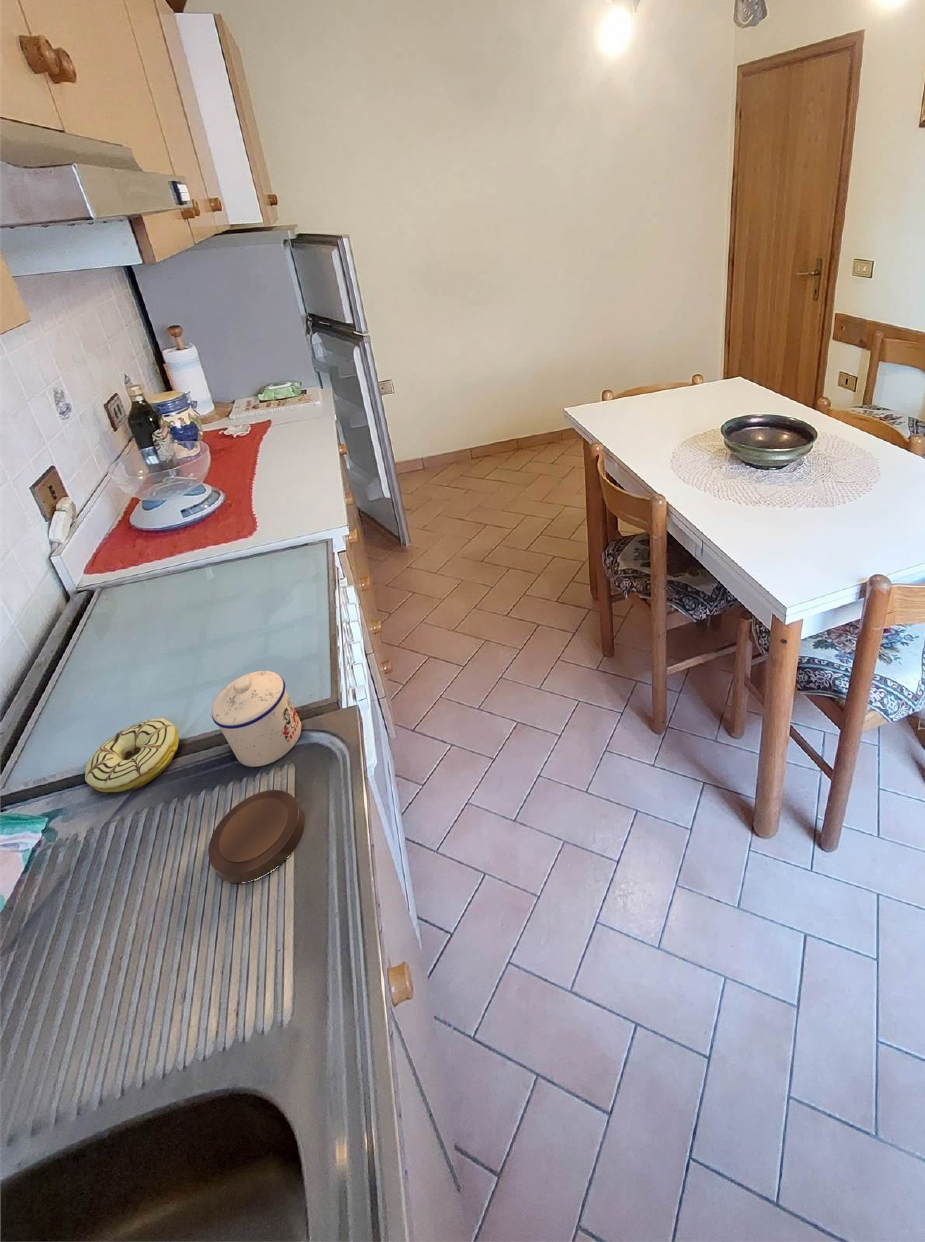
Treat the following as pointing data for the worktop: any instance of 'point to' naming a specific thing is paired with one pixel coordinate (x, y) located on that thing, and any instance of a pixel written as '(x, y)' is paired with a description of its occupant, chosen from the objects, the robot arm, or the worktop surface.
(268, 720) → the teacup with lid
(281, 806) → the plate
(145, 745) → the decorated donut
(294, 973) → the worktop surface
